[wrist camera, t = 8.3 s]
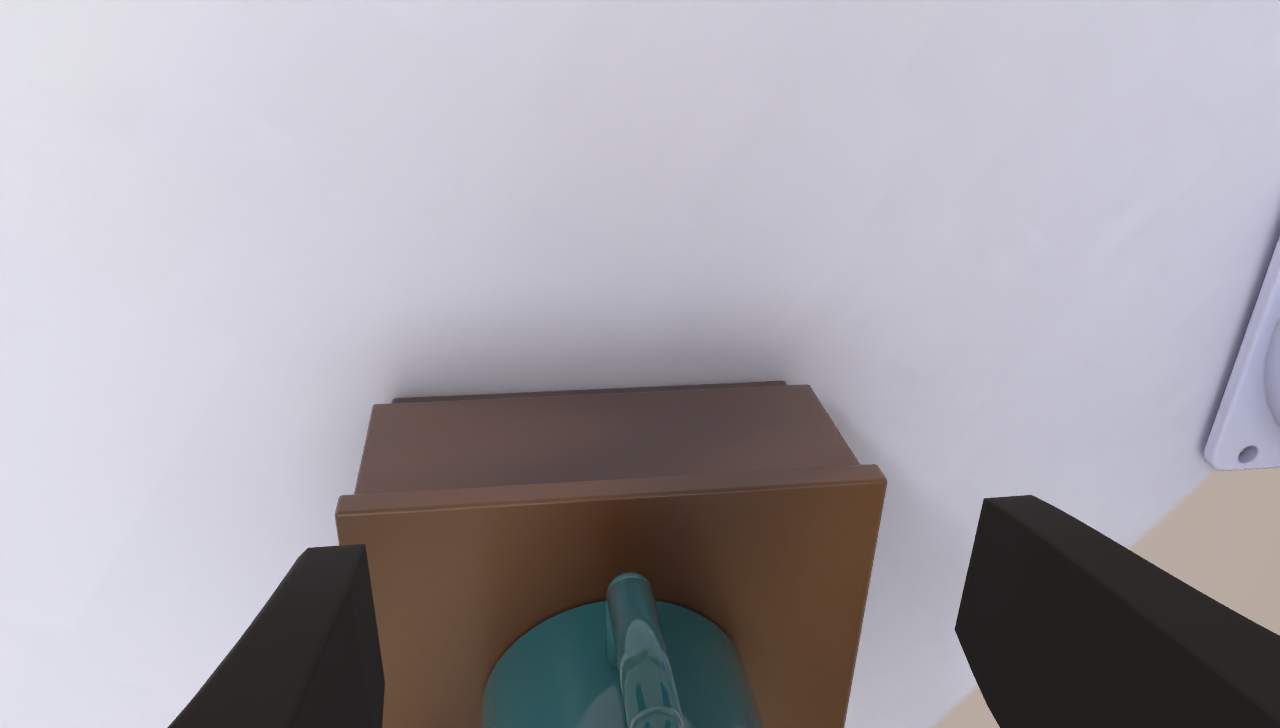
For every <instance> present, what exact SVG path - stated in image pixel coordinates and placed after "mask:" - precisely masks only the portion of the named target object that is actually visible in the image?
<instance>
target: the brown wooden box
mask: <svg viewBox="0 0 1280 728" xmlns="http://www.w3.org/2000/svg"><path fill="white" fill-rule="evenodd" d="M886 486H887V479H886V478H885V476H884V475H883V473H882V472H881V470H880V469H879V467H878V466H877V465H875V464H871V465H860V464H859V462H858V461H857V459H856V457H855V456H854V454H853V453H852V451H851V450H850V448H849V446H848V445H847V443H846V442H845V440H844V439H843V437H842V436H841V434H840V432H839V431H838V429H837V428H836V426H835V425H834V423H833V421H832V420H831V418H830V417H829V415H828V414H827V412H826V410H825V409H824V407H823V406H822V404H821V403H820V401H819V399H818V398H817V396H816V395H815V393H814V392H813V390H812V389H811V387H810V385H792V386H787V384H786V382H784V381H774V382H752V383H730V384H707V385H685V386H662V387H640V388H618V389H595V390H573V391H551V392H528V393H506V394H484V395H461V396H439V397H416V398H396V399H393V401H392V404H375V405H373V409H372V413H371V418H370V423H369V427H368V432H367V436H366V441H365V446H364V450H363V455H362V460H361V464H360V469H359V473H358V478H357V483H356V487H355V492H354V495H342V496H340V497H339V499H338V504H337V508H336V512H335V520H336V527H337V533H338V540H339V546H342V545H356V544H365V545H366V552H367V559H368V566H369V573H370V580H371V587H372V594H373V601H374V608H375V615H376V622H377V629H378V636H379V643H380V650H381V657H382V664H383V671H384V678H385V692H384V707H383V723H382V728H481V701H482V696H483V691H484V688H485V686H486V683H487V680H488V678H489V676H490V674H491V672H492V671H493V669H494V667H495V665H496V664H497V662H498V661H499V659H500V658H501V657H502V656H503V654H504V653H505V652H506V650H507V649H508V648H509V647H510V646H511V645H512V644H513V643H514V642H515V641H516V640H518V639H519V638H520V637H521V636H522V635H524V634H525V633H526V632H528V631H529V630H530V629H532V628H533V627H535V626H536V625H538V624H540V623H541V622H543V621H545V620H546V619H548V618H550V617H552V616H555V615H557V614H559V613H561V612H563V611H566V610H569V609H572V608H575V607H578V606H581V605H585V604H589V603H593V602H598V601H604V600H606V595H607V589H608V587H609V584H610V583H611V581H612V580H613V579H614V578H615V577H616V576H618V575H620V574H622V573H625V572H635V573H638V574H641V575H642V576H644V577H645V578H646V579H647V580H648V581H649V583H650V584H651V587H652V589H653V593H654V597H655V600H658V601H664V602H669V603H673V604H676V605H679V606H682V607H685V608H688V609H690V610H692V611H694V612H696V613H698V614H701V615H702V616H704V617H705V618H707V619H708V620H710V621H711V622H713V623H714V624H715V625H716V626H718V627H719V628H720V629H721V630H722V631H723V632H724V633H726V635H727V636H728V637H729V638H730V640H731V641H732V642H733V643H734V645H735V646H736V648H737V650H738V652H739V653H740V655H741V658H742V661H743V664H744V667H745V670H746V673H747V676H748V679H749V682H750V685H751V688H752V691H753V694H754V697H755V700H756V703H757V706H758V709H759V712H760V715H761V718H762V721H763V725H764V728H844V725H845V719H846V713H847V708H848V702H849V696H850V691H851V685H852V679H853V674H854V668H855V662H856V656H857V651H858V645H859V639H860V634H861V628H862V622H863V617H864V611H865V605H866V600H867V594H868V588H869V582H870V577H871V571H872V565H873V560H874V554H875V548H876V543H877V537H878V531H879V526H880V520H881V514H882V508H883V503H884V497H885V491H886Z"/></svg>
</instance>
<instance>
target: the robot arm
mask: <svg viewBox="0 0 1280 728" xmlns="http://www.w3.org/2000/svg"><path fill="white" fill-rule="evenodd" d="M1242 450H1244V451H1242ZM1241 451H1242V452H1241ZM1204 458H1205V461H1206V462H1208V463H1209V464H1210V465H1211V466H1213V467H1214V468H1215V469H1217V470H1221V471H1230V470H1246V469H1262V468H1277V467H1280V237H1279V239H1278V242H1277V245H1276V248H1275V251H1274V254H1273V256H1272V259H1271V262H1270V265H1269V268H1268V271H1267V273H1266V276H1265V279H1264V282H1263V285H1262V288H1261V290H1260V293H1259V296H1258V299H1257V302H1256V305H1255V308H1254V310H1253V313H1252V316H1251V319H1250V322H1249V325H1248V327H1247V330H1246V333H1245V336H1244V339H1243V342H1242V344H1241V347H1240V350H1239V353H1238V356H1237V359H1236V361H1235V364H1234V367H1233V370H1232V373H1231V376H1230V378H1229V381H1228V384H1227V387H1226V390H1225V393H1224V396H1223V398H1222V401H1221V404H1220V407H1219V410H1218V413H1217V415H1216V418H1215V421H1214V424H1213V427H1212V430H1211V432H1210V435H1209V438H1208V441H1207V444H1206V447H1205V449H1204ZM955 631H956V634H957V636H958V639H959V641H960V644H961V646H962V648H963V651H964V653H965V656H966V658H967V661H968V663H969V665H970V668H971V670H972V673H973V675H974V677H975V679H976V681H977V684H978V686H979V688H980V690H981V692H982V694H983V697H984V699H985V701H986V703H987V705H988V707H989V709H990V711H991V713H992V714H993V716H994V718H995V719H996V721H997V723H998V725H999V726H1000V728H1280V636H1279V635H1277V634H1275V633H1273V632H1271V631H1270V630H1268V629H1266V628H1264V627H1262V626H1260V625H1258V624H1256V623H1254V622H1253V621H1251V620H1249V619H1247V618H1246V617H1244V616H1242V615H1240V614H1238V613H1237V612H1235V611H1233V610H1231V609H1229V608H1228V607H1226V606H1224V605H1222V604H1221V603H1219V602H1217V601H1215V600H1214V599H1212V598H1210V597H1208V596H1207V595H1204V594H1203V593H1201V592H1200V591H1198V590H1196V589H1194V588H1193V587H1191V586H1189V585H1187V584H1186V583H1184V582H1182V581H1181V580H1179V579H1177V578H1175V577H1174V576H1172V575H1170V574H1169V573H1167V572H1165V571H1164V570H1162V569H1160V568H1159V567H1157V566H1155V565H1154V564H1152V563H1150V562H1148V561H1147V560H1145V559H1143V558H1142V557H1140V556H1138V555H1137V554H1135V553H1133V552H1132V551H1130V550H1128V549H1127V548H1125V547H1123V546H1122V545H1120V544H1118V543H1117V542H1115V541H1113V540H1112V539H1110V538H1108V537H1106V536H1105V535H1103V534H1101V533H1100V532H1098V531H1096V530H1095V529H1093V528H1091V527H1089V526H1088V525H1086V524H1084V523H1083V522H1081V521H1079V520H1077V519H1076V518H1074V517H1072V516H1070V515H1069V514H1067V513H1065V512H1063V511H1061V510H1060V509H1058V508H1056V507H1054V506H1052V505H1050V504H1048V503H1046V502H1044V501H1043V500H1041V499H1039V498H1037V497H1035V496H1032V495H1025V496H1011V497H998V498H984V500H983V505H982V509H981V514H980V518H979V523H978V527H977V532H976V536H975V541H974V545H973V549H972V554H971V558H970V563H969V567H968V572H967V576H966V581H965V585H964V590H963V594H962V599H961V603H960V608H959V612H958V617H957V621H956V626H955ZM384 692H385V678H384V671H383V664H382V657H381V650H380V643H379V636H378V629H377V622H376V615H375V608H374V601H373V594H372V587H371V580H370V573H369V566H368V559H367V552H366V545H365V544H356V545H342V546H329V547H315V548H307V549H306V550H305V551H304V552H303V553H302V554H301V555H300V556H299V557H298V559H297V560H296V562H295V563H294V565H293V566H292V567H291V569H290V570H289V572H288V573H287V575H286V576H285V578H284V579H283V580H282V582H281V583H280V585H279V586H278V588H277V589H276V590H275V592H274V593H273V595H272V596H271V597H270V599H269V600H268V602H267V603H266V604H265V606H264V607H263V608H262V610H261V611H260V613H259V614H258V615H257V617H256V618H255V619H254V621H253V622H252V623H251V625H250V626H249V627H248V629H247V630H246V631H245V633H244V634H243V635H242V637H241V638H240V639H239V641H238V642H237V643H236V645H235V646H234V647H233V648H232V650H231V651H230V652H229V654H228V655H227V656H226V657H225V659H224V660H223V661H222V662H221V664H220V665H219V666H218V667H217V669H216V670H215V671H214V673H213V674H212V675H211V676H210V678H209V679H208V680H207V681H206V683H205V684H204V685H203V687H202V688H201V689H200V690H199V692H198V693H197V694H196V695H195V696H194V698H193V699H192V700H191V701H190V702H189V704H188V705H187V706H186V707H185V708H184V710H183V711H182V712H181V713H180V714H179V715H178V716H177V718H176V719H175V720H174V721H173V722H172V723H171V725H170V726H169V727H168V728H382V723H383V707H384Z"/></svg>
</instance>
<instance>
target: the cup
mask: <svg viewBox="0 0 1280 728" xmlns="http://www.w3.org/2000/svg"><path fill="white" fill-rule="evenodd" d="M481 728H764V725H763V721H762V718H761V715H760V712H759V709H758V706H757V703H756V700H755V697H754V694H753V691H752V688H751V685H750V682H749V679H748V676H747V673H746V670H745V667H744V664H743V661H742V658H741V655H740V653H739V652H738V650H737V648H736V646H735V645H734V643H733V642H732V641H731V640H730V638H729V637H728V636H727V635H726V633H724V632H723V631H722V630H721V629H720V628H719V627H718V626H716V625H715V624H714V623H713V622H711V621H710V620H708V619H707V618H705V617H704V616H702V615H701V614H698V613H696V612H694V611H692V610H690V609H688V608H685V607H682V606H679V605H676V604H673V603H669V602H664V601H658V600H655V597H654V593H653V589H652V587H651V584H650V583H649V581H648V580H647V579H646V578H645V577H644V576H642V575H641V574H638V573H635V572H625V573H622V574H620V575H618V576H616V577H615V578H614V579H613V580H612V581H611V583H610V584H609V587H608V589H607V595H606V600H604V601H598V602H593V603H589V604H585V605H581V606H578V607H575V608H572V609H569V610H566V611H563V612H561V613H559V614H557V615H555V616H552V617H550V618H548V619H546V620H545V621H543V622H541V623H540V624H538V625H536V626H535V627H533V628H532V629H530V630H529V631H528V632H526V633H525V634H524V635H522V636H521V637H520V638H519V639H518V640H516V641H515V642H514V643H513V644H512V645H511V646H510V647H509V648H508V649H507V650H506V652H505V653H504V654H503V656H502V657H501V658H500V659H499V661H498V662H497V664H496V665H495V667H494V669H493V671H492V672H491V674H490V676H489V678H488V680H487V683H486V686H485V688H484V691H483V696H482V701H481Z"/></svg>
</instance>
